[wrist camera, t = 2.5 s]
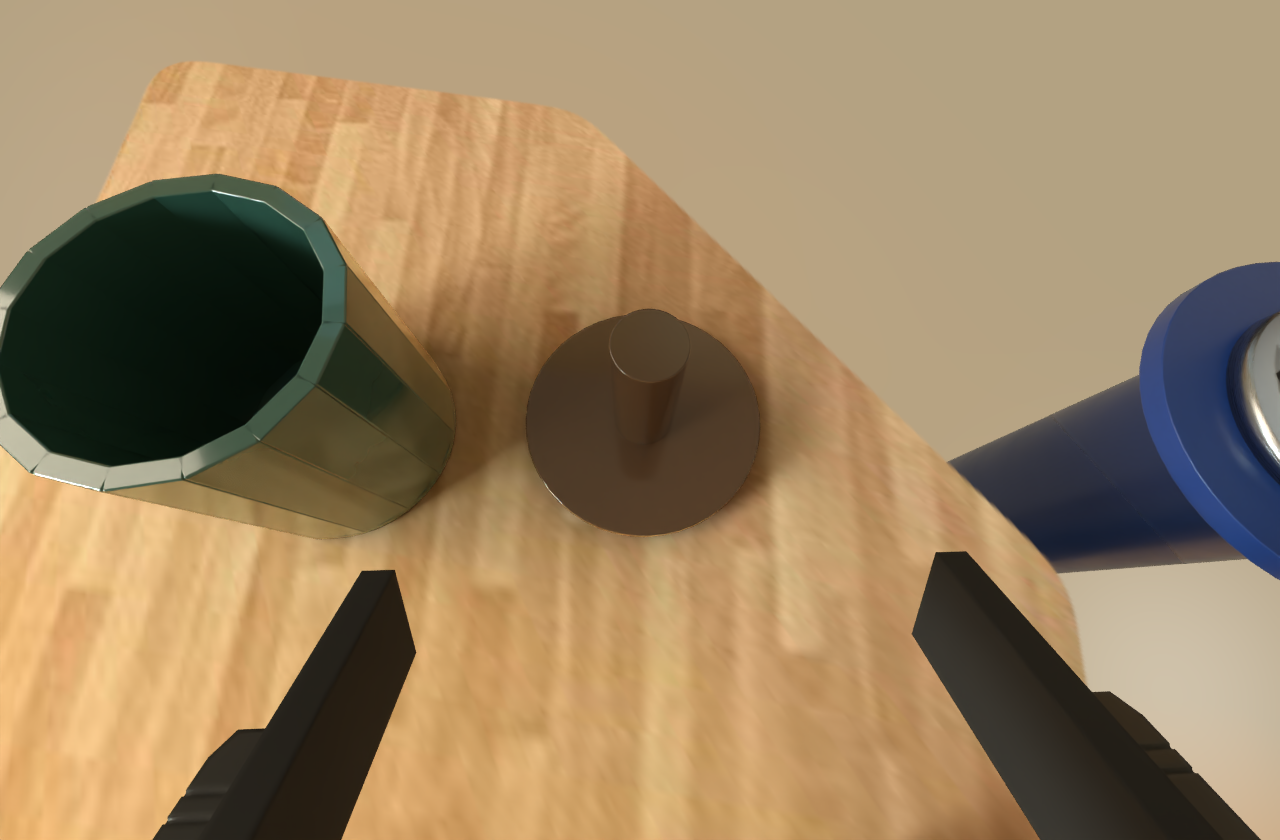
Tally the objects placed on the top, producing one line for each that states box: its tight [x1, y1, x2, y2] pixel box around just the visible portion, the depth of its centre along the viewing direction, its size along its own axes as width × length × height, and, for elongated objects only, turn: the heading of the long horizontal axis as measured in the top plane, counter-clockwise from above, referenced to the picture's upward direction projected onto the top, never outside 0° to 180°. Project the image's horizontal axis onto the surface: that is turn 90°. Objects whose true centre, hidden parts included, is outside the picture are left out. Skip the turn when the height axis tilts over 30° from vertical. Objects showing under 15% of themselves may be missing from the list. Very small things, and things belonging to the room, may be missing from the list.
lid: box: [526, 309, 760, 537], centre depth 26 cm, size 13×13×10 cm
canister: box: [0, 174, 456, 539], centre depth 24 cm, size 12×12×12 cm
